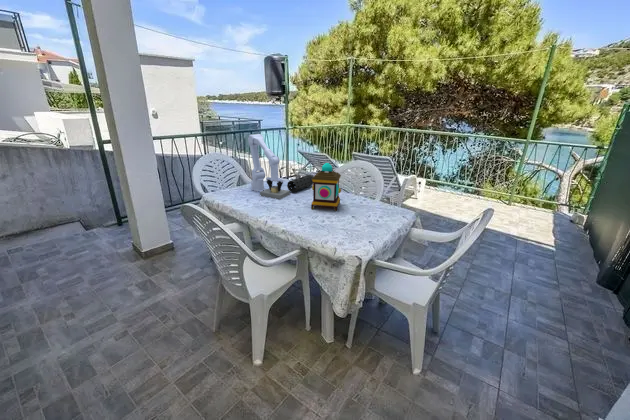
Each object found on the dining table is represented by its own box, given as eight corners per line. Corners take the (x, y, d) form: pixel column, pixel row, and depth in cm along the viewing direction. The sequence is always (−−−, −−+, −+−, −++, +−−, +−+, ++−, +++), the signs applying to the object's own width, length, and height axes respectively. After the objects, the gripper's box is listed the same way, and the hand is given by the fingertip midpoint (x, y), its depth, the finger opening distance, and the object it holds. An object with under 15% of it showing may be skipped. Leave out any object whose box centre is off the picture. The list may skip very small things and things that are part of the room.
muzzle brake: (286, 192, 221) (286, 179, 218) (306, 184, 243) (306, 173, 240) (296, 194, 216) (296, 181, 213) (315, 186, 238) (315, 174, 235)
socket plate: (260, 195, 211) (260, 192, 210) (271, 191, 222) (270, 187, 221) (279, 199, 203) (279, 195, 202) (290, 194, 215) (290, 190, 214)
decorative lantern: (338, 212, 179) (340, 166, 169) (308, 210, 183) (309, 164, 173) (341, 202, 198) (344, 160, 187) (314, 200, 201) (315, 159, 191)
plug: (271, 195, 212) (270, 186, 209) (274, 194, 215) (274, 185, 213) (275, 196, 210) (275, 187, 208) (278, 195, 213) (278, 186, 211)
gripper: (263, 172, 206) (264, 190, 211) (279, 175, 200) (280, 193, 205) (268, 171, 212) (269, 188, 217) (284, 173, 206) (285, 190, 211)
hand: (275, 190), depth 211 cm, fingers open, 7 cm apart
